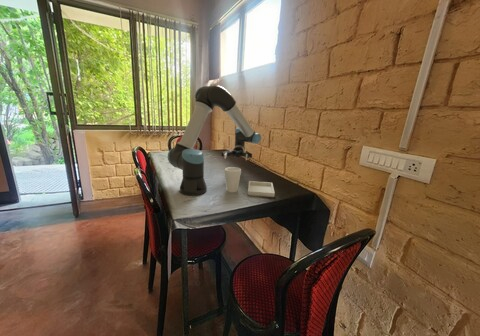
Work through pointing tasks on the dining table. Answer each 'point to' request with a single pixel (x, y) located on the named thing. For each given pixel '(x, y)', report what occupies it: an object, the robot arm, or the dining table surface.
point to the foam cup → (232, 178)
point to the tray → (261, 189)
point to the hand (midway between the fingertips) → (235, 157)
